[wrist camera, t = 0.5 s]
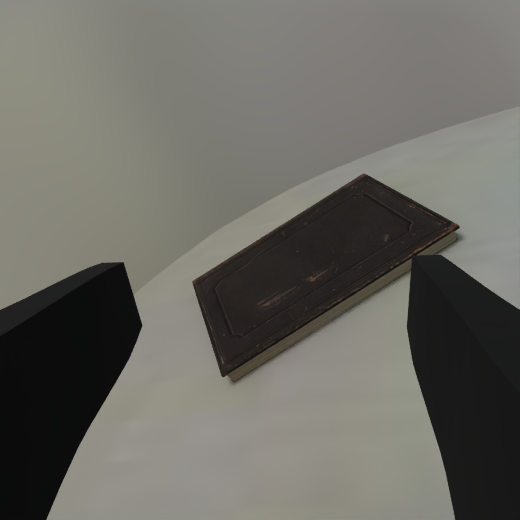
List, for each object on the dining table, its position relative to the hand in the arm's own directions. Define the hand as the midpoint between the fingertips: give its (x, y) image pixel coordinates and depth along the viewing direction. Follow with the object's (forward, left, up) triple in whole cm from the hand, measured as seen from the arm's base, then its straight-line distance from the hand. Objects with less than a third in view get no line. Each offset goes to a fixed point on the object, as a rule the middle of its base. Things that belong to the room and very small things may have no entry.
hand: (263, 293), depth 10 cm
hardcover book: (+25, +1, -20) cm, 32 cm away
